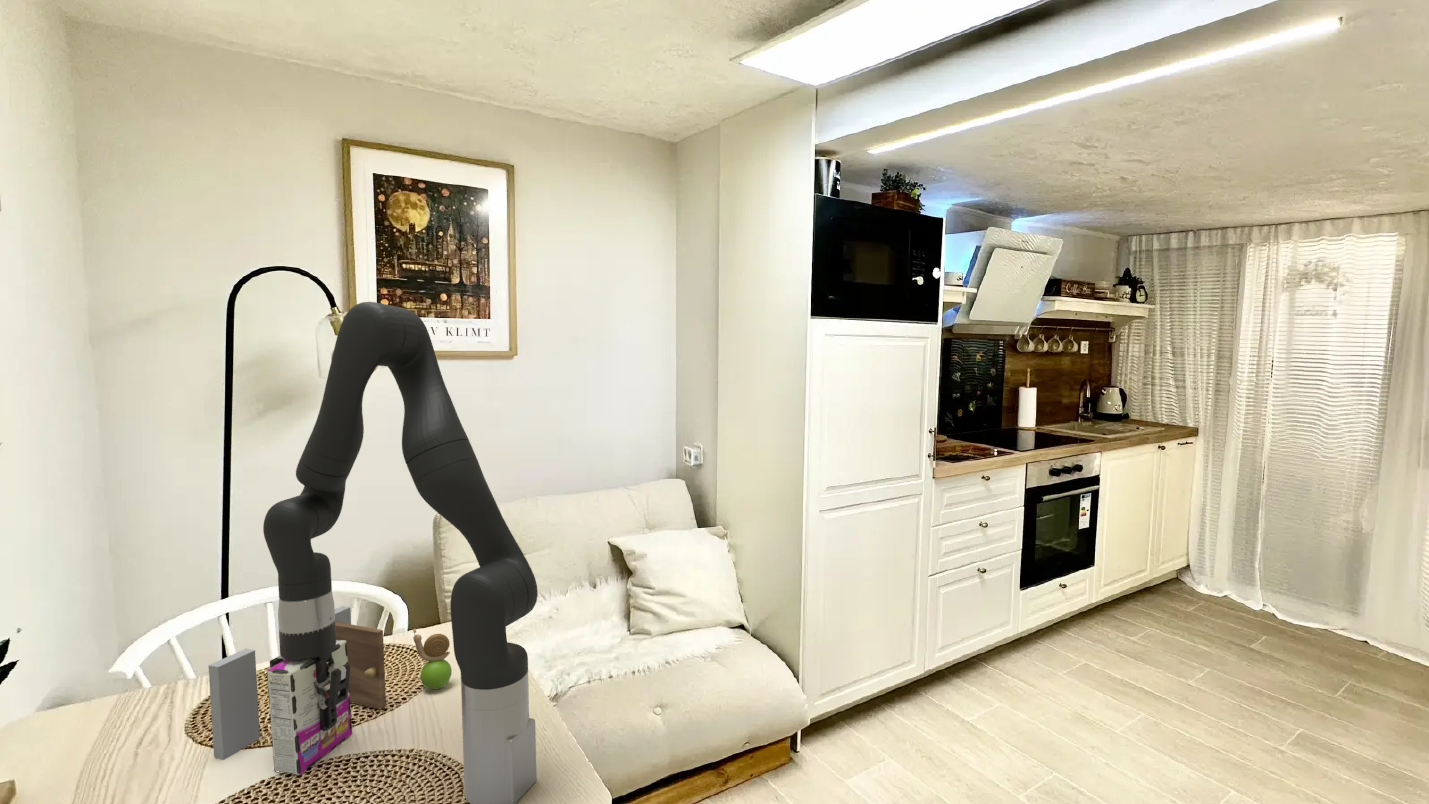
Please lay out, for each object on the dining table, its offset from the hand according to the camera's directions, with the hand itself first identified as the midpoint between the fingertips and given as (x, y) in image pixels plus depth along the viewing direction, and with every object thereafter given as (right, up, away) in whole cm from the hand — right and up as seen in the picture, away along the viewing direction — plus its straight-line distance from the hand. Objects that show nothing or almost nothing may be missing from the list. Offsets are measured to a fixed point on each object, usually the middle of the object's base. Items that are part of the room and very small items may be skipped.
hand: (312, 724), depth 105 cm
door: (-1, -3, +15) cm, 15 cm away
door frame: (-10, -4, +11) cm, 16 cm away
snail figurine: (+10, -3, +21) cm, 23 cm away
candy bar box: (0, -5, 0) cm, 5 cm away
